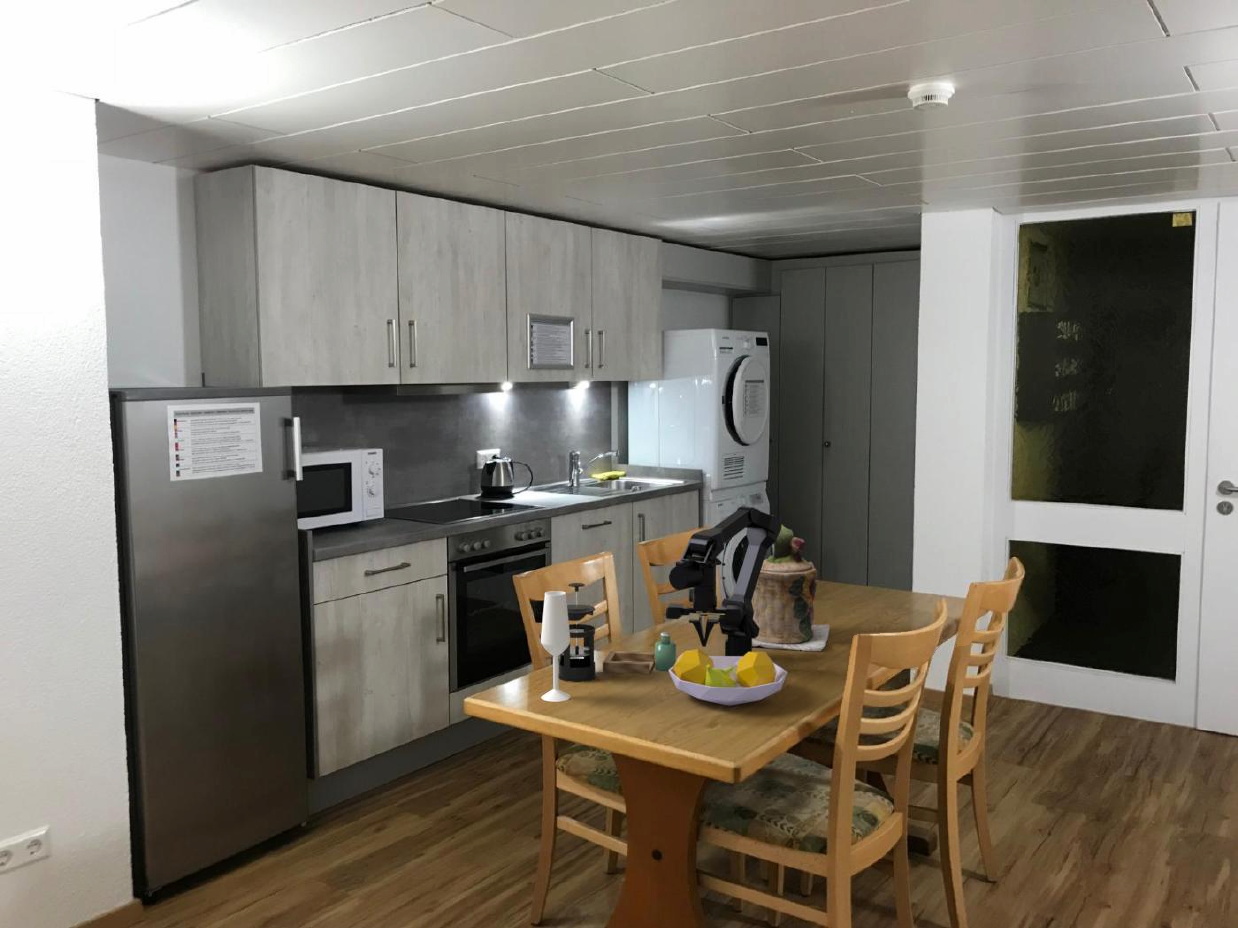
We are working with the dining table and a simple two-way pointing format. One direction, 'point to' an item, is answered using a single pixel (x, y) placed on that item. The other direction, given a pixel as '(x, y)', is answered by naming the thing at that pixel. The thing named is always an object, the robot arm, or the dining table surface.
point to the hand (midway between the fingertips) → (704, 646)
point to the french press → (578, 666)
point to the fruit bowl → (727, 676)
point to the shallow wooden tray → (628, 662)
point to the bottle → (665, 653)
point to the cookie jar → (787, 599)
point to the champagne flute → (555, 637)
